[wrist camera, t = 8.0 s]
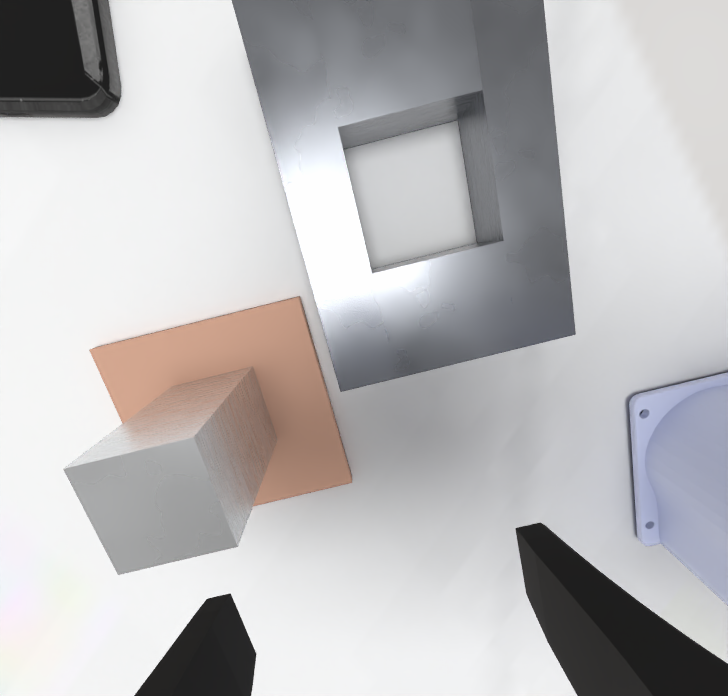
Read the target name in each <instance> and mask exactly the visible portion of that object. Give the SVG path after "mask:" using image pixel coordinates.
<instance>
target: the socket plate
mask: <svg viewBox="0 0 728 696" xmlns="http://www.w3.org/2000/svg"><path fill="white" fill-rule="evenodd" d="M232 3H233V6H234V10H235V14H236V17H237V21H238V24H239V28H240V32H241V35H242V39H243V42H244V46H245V50H246V53H247V57H248V60H249V64H250V68H251V71H252V75H253V78H254V82H255V86H256V89H257V93H258V96H259V100H260V103H261V107H262V111H263V114H264V118H265V121H266V125H267V129H268V132H269V136H270V139H271V143H272V147H273V150H274V154H275V157H276V161H277V165H278V168H279V172H280V175H281V179H282V183H283V186H284V190H285V193H286V197H287V201H288V204H289V208H290V211H291V215H292V219H293V222H294V226H295V229H296V233H297V237H298V240H299V244H300V247H301V251H302V254H303V258H304V262H305V265H306V269H307V272H308V276H309V280H310V283H311V287H312V290H313V294H314V298H315V301H316V305H317V308H318V312H319V316H320V319H321V323H322V326H323V330H324V334H325V337H326V341H327V344H328V348H329V352H330V355H331V359H332V362H333V366H334V370H335V373H336V377H337V380H338V384H339V388H340V391H341V392H342V391H346V390H350V389H354V388H359V387H363V386H367V385H371V384H375V383H379V382H383V381H387V380H391V379H395V378H399V377H404V376H408V375H412V374H416V373H420V372H424V371H428V370H432V369H436V368H440V367H444V366H449V365H453V364H457V363H461V362H465V361H469V360H473V359H477V358H481V357H485V356H490V355H494V354H498V353H502V352H506V351H510V350H514V349H518V348H522V347H526V346H530V345H535V344H539V343H543V342H547V341H551V340H555V339H559V338H563V337H567V336H571V335H575V334H576V333H575V323H574V313H573V302H572V292H571V282H570V271H569V261H568V250H567V240H566V230H565V219H564V209H563V199H562V188H561V178H560V167H559V157H558V147H557V136H556V126H555V116H554V105H553V95H552V85H551V74H550V64H549V53H548V43H547V33H546V22H545V12H544V2H543V0H232ZM455 120H458V123H459V130H460V136H461V143H462V149H463V155H464V162H465V168H466V174H467V181H468V187H469V193H470V200H471V206H472V212H473V219H474V225H475V232H476V238H477V243H475V244H471V245H467V246H463V247H459V248H455V249H451V250H447V251H443V252H439V253H435V254H431V255H427V256H423V257H419V258H415V259H411V260H407V261H403V262H399V263H395V264H391V265H387V266H383V267H379V268H375V269H371V267H370V263H369V258H368V254H367V250H366V245H365V241H364V237H363V233H362V228H361V224H360V220H359V215H358V211H357V207H356V203H355V198H354V194H353V190H352V185H351V181H350V177H349V173H348V168H347V164H346V160H345V156H344V151H343V149H347V148H350V147H354V146H358V145H362V144H366V143H370V142H374V141H378V140H381V139H385V138H389V137H393V136H397V135H401V134H405V133H408V132H412V131H416V130H420V129H424V128H428V127H432V126H436V125H439V124H443V123H447V122H451V121H455Z"/></svg>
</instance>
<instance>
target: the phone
mask: <svg viewBox="0 0 728 696" xmlns="http://www.w3.org/2000/svg"><path fill="white" fill-rule="evenodd" d="M120 97H121V83H120V76H119V69H118V63H117V56H116V49H115V43H114V36H113V29H112V22H111V16H110V9H109V2H108V0H0V117H77V118H98V117H104V116H107V115H108V114H110V113H112V112H113V111H114V110H115V108H116V107H117V106H118V104H119V101H120Z"/></svg>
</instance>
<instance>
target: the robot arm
mask: <svg viewBox="0 0 728 696" xmlns="http://www.w3.org/2000/svg"><path fill="white" fill-rule="evenodd" d="M629 408H630V425H631V441H632V458H633V474H634V491H635V507H636V524H637V537H638V540H639V541H640V542H641V543H642V544H643V545H645V546H652V545H656V544H662V545H663V546H664V547H665V548H666V549H667V550H668V551H670V552H671V553H672V554H673V555H674V556H675V557H676V558H677V559H678V560H679V561H680V562H681V563H682V564H684V565H685V566H686V567H687V568H688V569H689V570H690V571H691V572H692V573H693V574H694V575H695V576H696V577H697V578H699V579H700V580H701V581H702V582H703V583H704V584H705V585H706V586H707V587H708V588H709V589H710V590H711V591H713V592H714V593H715V594H716V595H717V596H718V597H719V598H720V599H721V600H722V601H723V602H724V603H725V604H726V605H728V372H727V373H723V374H719V375H714V376H710V377H706V378H702V379H698V380H694V381H689V382H685V383H681V384H677V385H673V386H669V387H664V388H660V389H656V390H652V391H648V392H644V393H639V394H637V395H634V396H633V397H632V398H631V400H630V403H629ZM642 410H643V413H642V414H640V412H641V411H642ZM639 414H640V415H639ZM516 534H517V540H518V546H519V552H520V558H521V564H522V570H523V576H524V582H525V588H526V594H527V596H528V598H529V601H530V603H531V605H532V608H533V610H534V612H535V614H536V617H537V619H538V621H539V623H540V625H541V628H542V630H543V632H544V634H545V636H546V639H547V641H548V643H549V645H550V647H551V648H552V650H553V652H554V654H555V656H556V658H557V659H558V661H559V663H560V665H561V667H562V668H563V670H564V672H565V674H566V676H567V677H568V679H569V681H570V683H571V685H572V686H573V688H574V690H575V692H576V694H577V695H578V696H728V664H727V663H726V662H724V661H723V660H721V659H720V658H718V657H717V656H715V655H714V654H712V653H711V652H709V651H708V650H706V649H705V648H703V647H702V646H701V645H699V644H698V643H696V642H695V641H693V640H692V639H690V638H689V637H687V636H686V635H685V634H683V633H682V632H680V631H679V630H678V629H676V628H675V627H673V626H672V625H671V624H669V623H668V622H666V621H665V620H663V619H662V618H661V617H659V616H658V615H657V614H655V613H654V612H652V611H651V610H650V609H648V608H647V607H646V606H644V605H643V604H642V603H640V602H639V601H638V600H636V599H635V598H634V597H632V596H631V595H630V594H629V593H627V592H626V591H625V590H623V589H622V588H621V587H619V586H618V585H617V584H615V583H614V582H613V581H612V580H610V579H609V578H608V577H606V576H605V575H604V574H603V573H601V572H600V571H599V570H598V569H596V568H595V567H594V566H593V565H591V564H590V563H589V562H588V561H587V560H585V559H584V558H583V557H582V556H580V555H579V554H578V553H577V552H576V551H574V550H573V549H572V548H571V547H570V546H568V545H567V544H566V543H565V542H564V541H563V540H561V539H560V538H559V537H558V536H557V535H556V534H554V533H553V532H552V531H551V530H550V529H549V528H547V527H546V526H545V525H543V524H542V523H536V524H532V525H528V526H523V527H519V528H516ZM255 661H256V652H255V650H254V648H253V645H252V643H251V641H250V638H249V636H248V633H247V631H246V629H245V626H244V624H243V622H242V619H241V617H240V615H239V612H238V610H237V608H236V605H235V603H234V601H233V598H232V596H231V594H226V595H222V596H217V597H213V598H209V599H207V600H206V601H205V602H204V603H203V605H202V606H201V607H200V609H199V610H198V611H197V612H196V614H195V615H194V616H193V618H192V619H191V620H190V622H189V623H188V624H187V626H186V627H185V629H184V630H183V631H182V633H181V634H180V635H179V637H178V638H177V639H176V641H175V642H174V643H173V645H172V646H171V647H170V649H169V650H168V652H167V653H166V654H165V656H164V657H163V658H162V660H161V661H160V662H159V664H158V665H157V666H156V668H155V669H154V670H153V672H152V673H151V674H150V676H149V677H148V678H147V680H146V681H145V682H144V683H143V685H142V686H141V687H140V689H139V690H138V691H137V693H136V694H135V695H134V696H251V692H252V685H253V677H254V669H255Z"/></svg>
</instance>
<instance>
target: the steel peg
mask: <svg viewBox="0 0 728 696" xmlns="http://www.w3.org/2000/svg"><path fill="white" fill-rule="evenodd" d="M277 440H278V438H277V435H276V432H275V430H274V427H273V424H272V421H271V418H270V415H269V412H268V409H267V406H266V403H265V400H264V397H263V394H262V391H261V388H260V385H259V382H258V379H257V376H256V373H255V370H254V367H253V366H251V367H247V368H243V369H239V370H235V371H231V372H227V373H223V374H219V375H215V376H211V377H207V378H203V379H198V380H194V381H190V382H186V383H182V384H178V385H174V386H172V387H170V388H169V389H168V390H166V391H165V392H164V393H162V394H161V395H160V396H159V397H157V398H156V399H155V400H153V401H152V402H151V403H149V404H148V405H147V406H145V407H144V408H143V409H141V410H140V411H139V412H138V413H136V414H135V415H134V416H132V417H131V418H130V419H128V420H127V421H126V422H124V423H123V424H122V425H120V426H119V427H118V428H116V429H115V430H114V431H113V432H111V433H110V434H109V435H107V436H106V437H105V438H103V439H102V440H101V441H99V442H98V443H97V444H95V445H94V446H93V447H91V448H90V449H89V450H88V451H86V452H85V453H84V454H82V455H81V456H80V457H78V458H77V459H76V460H74V461H73V462H72V463H70V464H69V465H68V466H66V467H65V468H64V471H65V473H66V475H67V477H68V479H69V481H70V483H71V485H72V487H73V489H74V491H75V493H76V495H77V496H78V498H79V500H80V502H81V504H82V506H83V508H84V510H85V512H86V514H87V516H88V518H89V520H90V522H91V523H92V525H93V527H94V529H95V531H96V533H97V535H98V537H99V539H100V541H101V543H102V545H103V547H104V549H105V550H106V552H107V554H108V556H109V558H110V560H111V562H112V564H113V566H114V568H115V570H116V572H117V574H118V575H120V574H124V573H128V572H133V571H137V570H141V569H145V568H150V567H154V566H158V565H162V564H166V563H171V562H175V561H179V560H183V559H187V558H192V557H196V556H200V555H204V554H209V553H213V552H217V551H221V550H225V549H230V548H234V547H238V544H239V542H240V539H241V536H242V534H243V531H244V528H245V526H246V523H247V520H248V518H249V515H250V512H251V510H252V507H253V504H254V502H255V499H256V496H257V494H258V491H259V488H260V486H261V483H262V480H263V478H264V475H265V472H266V470H267V467H268V464H269V462H270V459H271V456H272V454H273V451H274V448H275V446H276V443H277Z"/></svg>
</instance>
